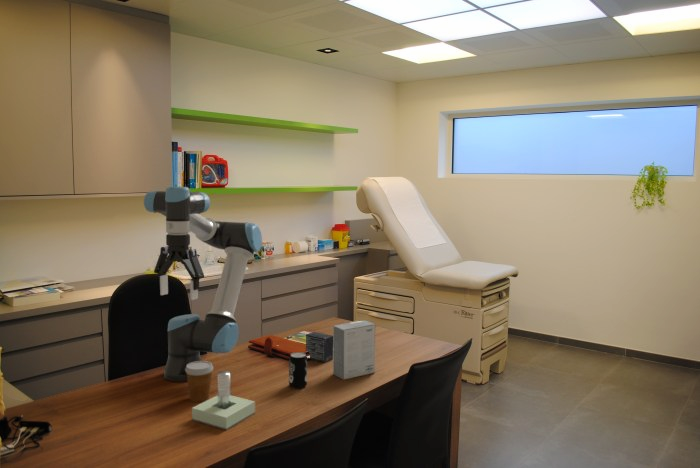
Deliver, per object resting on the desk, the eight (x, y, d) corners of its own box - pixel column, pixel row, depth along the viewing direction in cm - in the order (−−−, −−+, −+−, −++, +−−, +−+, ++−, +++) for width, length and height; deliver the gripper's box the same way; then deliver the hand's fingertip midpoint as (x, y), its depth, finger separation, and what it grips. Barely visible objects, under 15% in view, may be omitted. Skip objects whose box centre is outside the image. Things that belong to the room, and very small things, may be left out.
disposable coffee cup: (188, 405, 185) (188, 371, 184) (183, 395, 194) (182, 362, 192) (216, 401, 190) (216, 367, 188) (210, 391, 198) (209, 359, 197)
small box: (333, 359, 236) (334, 335, 234) (325, 363, 230) (325, 338, 229) (314, 354, 241) (314, 331, 240) (305, 358, 236) (305, 334, 235)
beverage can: (304, 390, 201) (304, 358, 200) (286, 388, 202) (286, 356, 201) (308, 383, 207) (309, 352, 206) (292, 381, 208) (292, 351, 207)
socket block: (192, 420, 175) (192, 407, 174) (221, 404, 187) (221, 392, 187) (226, 430, 168) (226, 417, 168) (255, 413, 180) (255, 401, 180)
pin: (214, 416, 177) (214, 374, 175) (223, 411, 180) (223, 370, 178) (224, 418, 175) (224, 376, 173) (232, 414, 178) (232, 372, 177)
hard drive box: (364, 367, 226) (365, 319, 224) (375, 373, 219) (376, 324, 217) (332, 374, 217) (333, 324, 215) (342, 380, 211) (343, 329, 209)
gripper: (142, 232, 184) (143, 294, 186) (198, 237, 173) (199, 303, 175) (159, 230, 191) (160, 290, 193) (214, 235, 179) (215, 299, 181)
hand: (179, 296), depth 184 cm, fingers open, 13 cm apart
